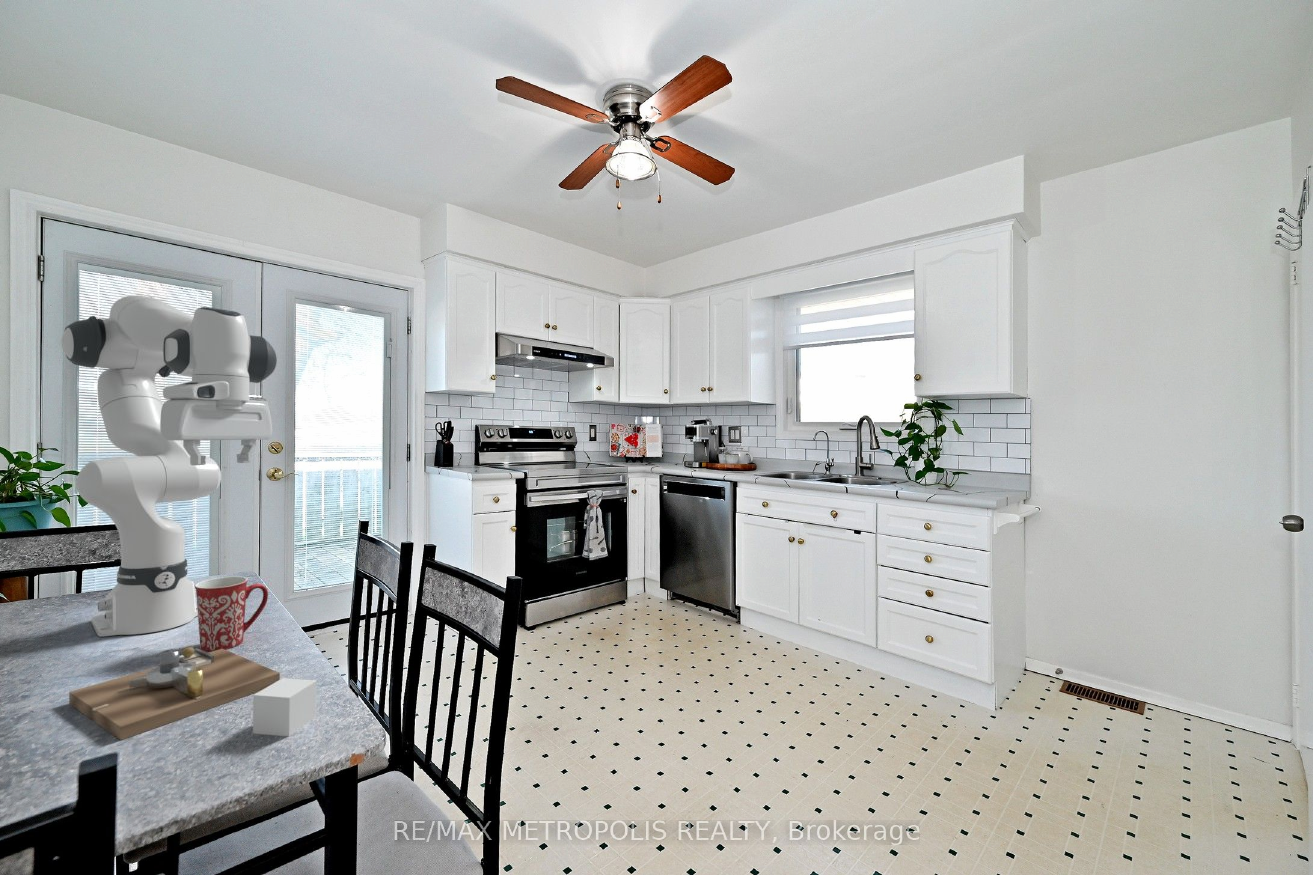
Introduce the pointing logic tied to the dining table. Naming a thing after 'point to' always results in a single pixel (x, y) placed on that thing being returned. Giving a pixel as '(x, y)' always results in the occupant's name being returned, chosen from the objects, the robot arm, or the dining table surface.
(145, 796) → the dining table surface
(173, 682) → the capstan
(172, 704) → the stand
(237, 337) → the robot arm
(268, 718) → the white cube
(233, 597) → the mug
